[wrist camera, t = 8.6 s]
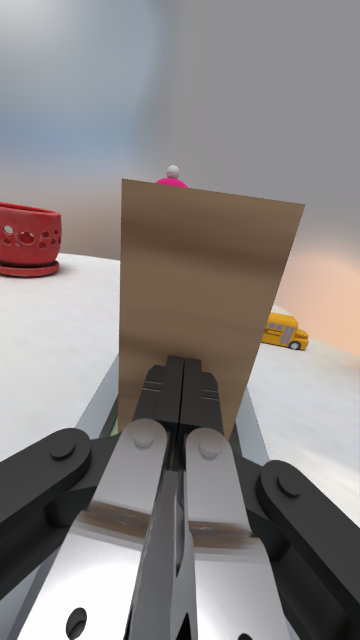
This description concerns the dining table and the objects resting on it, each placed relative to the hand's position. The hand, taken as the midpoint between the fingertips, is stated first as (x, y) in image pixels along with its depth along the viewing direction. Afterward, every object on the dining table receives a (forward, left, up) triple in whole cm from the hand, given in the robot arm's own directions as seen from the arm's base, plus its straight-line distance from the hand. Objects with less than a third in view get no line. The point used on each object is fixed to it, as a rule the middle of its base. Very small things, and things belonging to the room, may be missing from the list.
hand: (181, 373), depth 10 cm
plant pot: (-11, +46, -7) cm, 47 cm away
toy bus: (+20, +11, -7) cm, 24 cm away
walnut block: (+2, +3, -7) cm, 8 cm away
